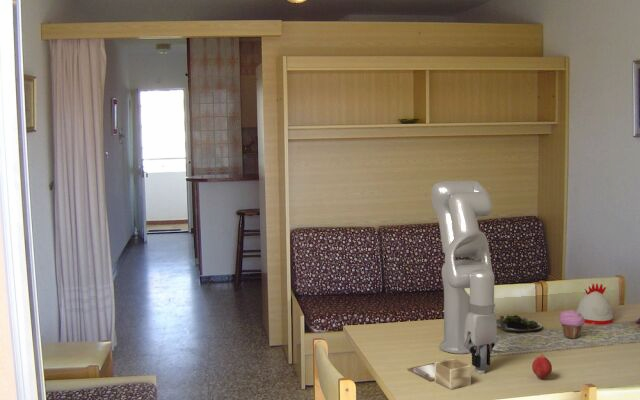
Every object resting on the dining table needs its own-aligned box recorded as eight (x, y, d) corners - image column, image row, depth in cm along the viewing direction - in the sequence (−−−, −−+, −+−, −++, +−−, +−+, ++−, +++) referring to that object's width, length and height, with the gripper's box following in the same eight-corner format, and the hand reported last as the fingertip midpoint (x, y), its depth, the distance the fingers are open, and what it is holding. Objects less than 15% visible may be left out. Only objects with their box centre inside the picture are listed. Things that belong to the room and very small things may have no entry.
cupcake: (576, 342, 241) (577, 315, 240) (554, 336, 248) (554, 310, 247) (588, 336, 247) (589, 310, 246) (566, 331, 254) (567, 306, 253)
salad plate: (482, 321, 270) (482, 310, 269) (522, 318, 273) (522, 307, 273) (505, 335, 251) (506, 323, 250) (548, 332, 255) (548, 320, 254)
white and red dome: (618, 324, 262) (619, 287, 261) (583, 325, 263) (584, 287, 261) (604, 315, 276) (605, 279, 275) (570, 315, 276) (571, 280, 275)
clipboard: (446, 361, 223) (446, 357, 222) (470, 372, 212) (470, 368, 212) (407, 369, 215) (407, 366, 215) (430, 381, 204) (430, 377, 204)
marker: (481, 369, 215) (481, 337, 214) (489, 372, 211) (489, 341, 210) (472, 371, 213) (472, 339, 212) (480, 374, 210) (480, 342, 209)
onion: (528, 376, 208) (529, 351, 207) (546, 375, 209) (547, 350, 208) (536, 382, 203) (537, 357, 202) (554, 382, 203) (555, 356, 202)
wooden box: (454, 377, 208) (454, 358, 208) (470, 385, 201) (471, 365, 201) (434, 381, 204) (434, 362, 204) (450, 390, 198) (451, 370, 197)
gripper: (493, 302, 217) (492, 357, 219) (453, 309, 209) (452, 366, 211) (509, 308, 211) (508, 364, 213) (469, 315, 203) (468, 373, 205)
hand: (481, 364), depth 212 cm, fingers closed on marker, 3 cm apart
